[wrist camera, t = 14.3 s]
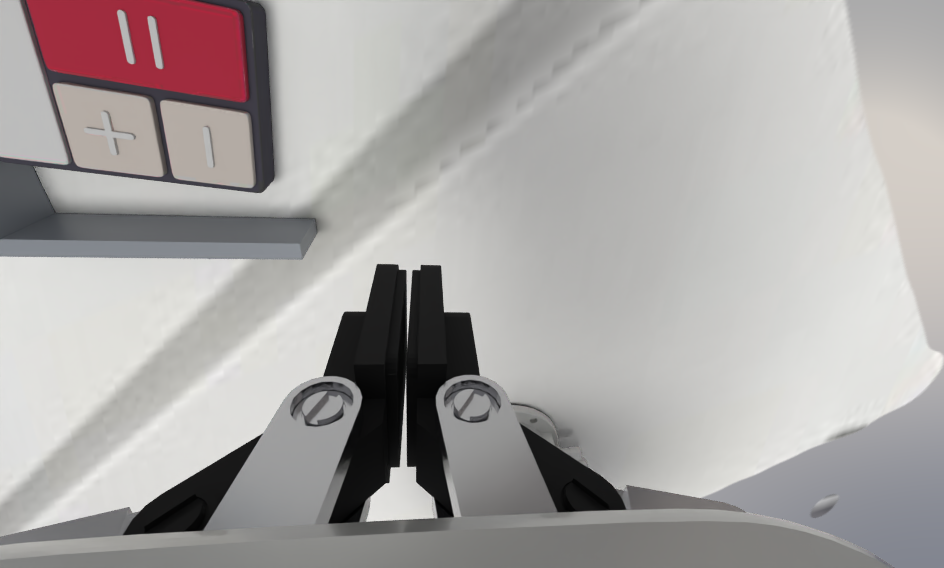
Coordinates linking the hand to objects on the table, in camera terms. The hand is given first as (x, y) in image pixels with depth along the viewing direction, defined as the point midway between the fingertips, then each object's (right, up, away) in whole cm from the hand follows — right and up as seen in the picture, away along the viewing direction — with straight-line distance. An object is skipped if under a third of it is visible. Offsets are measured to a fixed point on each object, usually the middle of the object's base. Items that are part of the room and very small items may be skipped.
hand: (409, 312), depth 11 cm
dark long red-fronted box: (-19, +14, +15) cm, 28 cm away
